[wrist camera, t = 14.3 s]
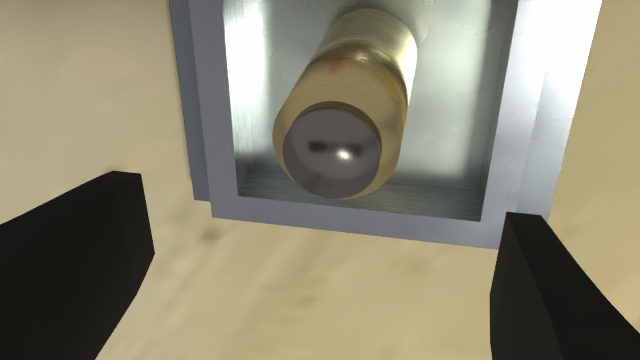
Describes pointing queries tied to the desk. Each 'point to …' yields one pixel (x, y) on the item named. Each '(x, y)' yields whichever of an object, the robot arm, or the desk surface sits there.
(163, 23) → the desk surface
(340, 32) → the cylinder
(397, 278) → the desk surface
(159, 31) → the desk surface
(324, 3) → the crank bench
